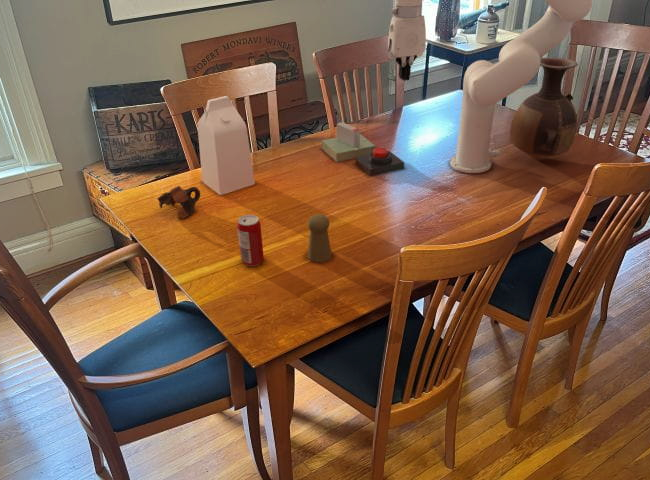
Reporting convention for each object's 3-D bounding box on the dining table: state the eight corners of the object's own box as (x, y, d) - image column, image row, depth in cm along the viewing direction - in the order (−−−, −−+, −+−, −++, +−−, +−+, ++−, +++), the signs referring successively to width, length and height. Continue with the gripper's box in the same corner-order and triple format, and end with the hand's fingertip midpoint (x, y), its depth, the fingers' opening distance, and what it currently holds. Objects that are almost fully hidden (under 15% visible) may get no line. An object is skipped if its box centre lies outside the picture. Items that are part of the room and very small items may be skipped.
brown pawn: (306, 250, 157) (305, 212, 150) (330, 248, 157) (329, 210, 151) (308, 263, 152) (306, 224, 146) (332, 261, 153) (332, 222, 146)
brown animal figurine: (174, 225, 170) (157, 199, 167) (167, 225, 178) (152, 200, 176) (210, 203, 173) (194, 177, 171) (202, 203, 182) (187, 179, 179)
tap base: (337, 162, 199) (337, 153, 197) (321, 148, 209) (320, 139, 207) (375, 154, 203) (376, 145, 201) (358, 140, 213) (358, 132, 211)
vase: (558, 178, 186) (581, 77, 168) (495, 165, 194) (511, 67, 176) (577, 151, 201) (600, 56, 183) (518, 140, 210) (535, 48, 192)
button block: (388, 157, 201) (389, 145, 199) (404, 168, 194) (404, 156, 192) (355, 163, 198) (356, 152, 195) (370, 176, 190) (370, 164, 188)
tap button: (383, 151, 196) (383, 146, 195) (389, 157, 193) (389, 151, 192) (370, 154, 195) (370, 149, 194) (377, 159, 191) (377, 154, 190)
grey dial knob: (336, 139, 206) (336, 123, 203) (342, 137, 207) (342, 121, 204) (354, 147, 201) (354, 130, 197) (359, 145, 202) (360, 129, 198)
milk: (236, 171, 196) (226, 89, 180) (255, 184, 188) (246, 99, 172) (202, 181, 190) (189, 97, 175) (220, 195, 183) (208, 109, 167)
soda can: (266, 255, 155) (262, 213, 148) (261, 267, 151) (256, 225, 144) (244, 254, 156) (239, 212, 149) (239, 266, 152) (233, 223, 145)
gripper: (390, 17, 164) (387, 86, 175) (438, 10, 169) (433, 79, 180) (377, 11, 170) (375, 79, 181) (424, 5, 174) (419, 72, 185)
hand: (404, 79), depth 180 cm, fingers closed
